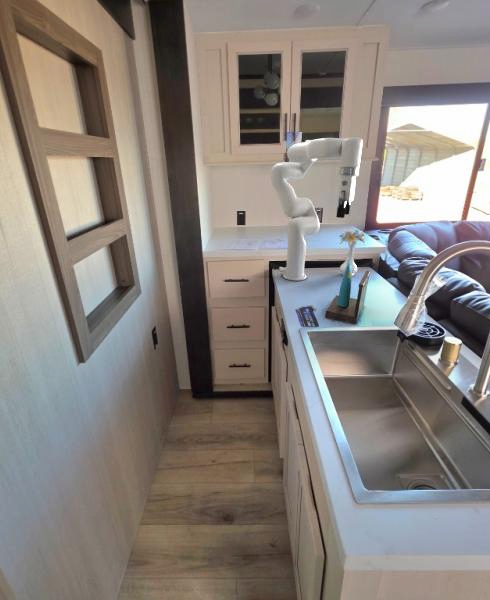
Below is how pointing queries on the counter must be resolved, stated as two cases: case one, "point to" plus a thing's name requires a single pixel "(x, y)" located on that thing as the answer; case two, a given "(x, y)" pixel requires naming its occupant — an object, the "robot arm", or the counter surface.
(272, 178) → the robot arm
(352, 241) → the flower vase
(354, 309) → the dark wooden bookend
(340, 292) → the tube
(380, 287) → the counter surface
